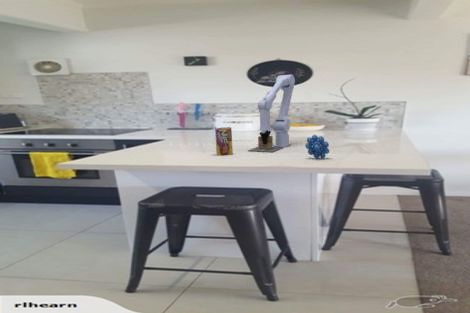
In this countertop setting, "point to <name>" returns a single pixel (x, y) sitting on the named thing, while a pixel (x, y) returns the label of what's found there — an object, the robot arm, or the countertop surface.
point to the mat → (265, 149)
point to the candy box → (223, 141)
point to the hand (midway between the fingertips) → (265, 143)
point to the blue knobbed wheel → (317, 146)
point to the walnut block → (269, 142)
